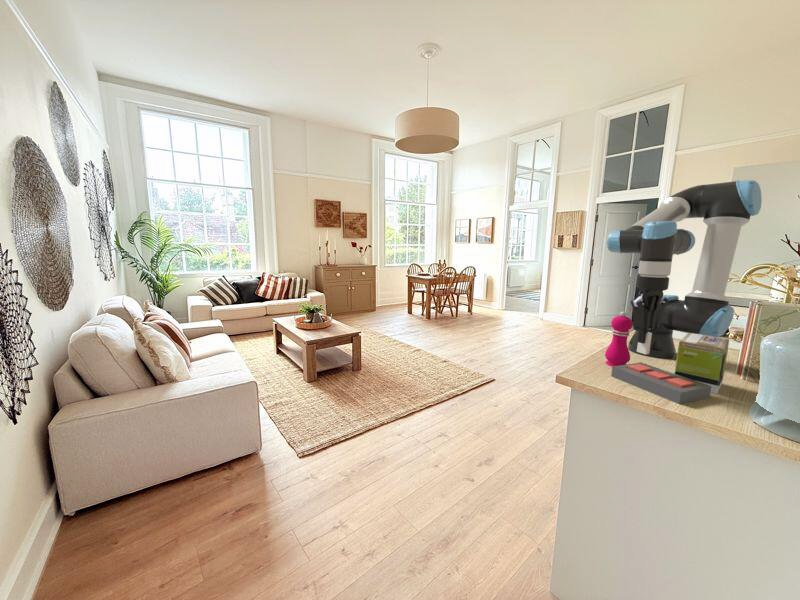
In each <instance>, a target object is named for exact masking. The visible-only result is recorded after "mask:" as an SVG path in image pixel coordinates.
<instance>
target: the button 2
mask: <svg viewBox="0 0 800 600" xmlns="http://www.w3.org/2000/svg"><path fill="white" fill-rule="evenodd" d="M646 375H648V376H650V377H653V378H656V379H658V380H663V379H669V378H672V375H669V374H666V373H663V372H660V371H653V372H647V373H646Z"/></svg>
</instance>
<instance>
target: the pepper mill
mask: <svg viewBox="0 0 800 600" xmlns="http://www.w3.org/2000/svg"><path fill="white" fill-rule="evenodd" d="M610 324H611V325H610V326H611V327H612V330H611V334H612V340H611V342H610V344H609V345H608V347H607V348H606V349H605V352H604V357H605V358H606V361H605V364H606V365H607V366H609V367H611V368H612V367H613V366H619V365H626V364H627V363H629V362H630V360H631V353H630V350H629V349H628V337H629V336H630V330H631V329H632V328H633V319H631V318H630V317H628V316H627V313H626V312H625V311H620V313H619V315H618V316H615V317H613V318H612V320H611V322H610Z"/></svg>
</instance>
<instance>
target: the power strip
mask: <svg viewBox="0 0 800 600" xmlns="http://www.w3.org/2000/svg"><path fill="white" fill-rule="evenodd" d="M637 364H641V365H644V366H647V367H650V368H652V371H648V372H653V371H660V372H663V373H666V374H669V375H672V378H669V379H673V378H678V377H679V378H682V379H685V380H687V381H690V382H693V383H694V386H690V387H685V388H680V387H678V386H675V385H672V384H669V383H667V382H666V380H667V379H663V380H658V379H656V378H653V377H650V376H648V375H646V373H647V372H642V373H639V372H637V371H634V370H631V369H628V368H627V367H628V366H630V365H637ZM610 373H611V375H610V377H612V378H614V379H616V380H619V381H621V382H624V383H626V384H629V385H631V386H634V387H636V388H639V389H641V390H643V391H645V392H649V393H651V394H653V395H655V396H657V397H660V398H663V399H666V400H668V401H671V402H673V403H676V404H678V405H681V404H686V403H690V402H691V403H692V402H695V401H699V400H705V399H709V398H710V397H711V387H712V386H709V385H706V384H703V383H700V382H697V381H694V380H691V379H689V378H686V377H683V376H680V375H677V374H674V373H675V372H671V371H668V370H665V369H661V368H658V367H656V366H652V365H649V364H646V363H644V362H642V361H641V362H634V363H628V364H627V363H626V365H619V366H613V367H612V366H611V372H610Z"/></svg>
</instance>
